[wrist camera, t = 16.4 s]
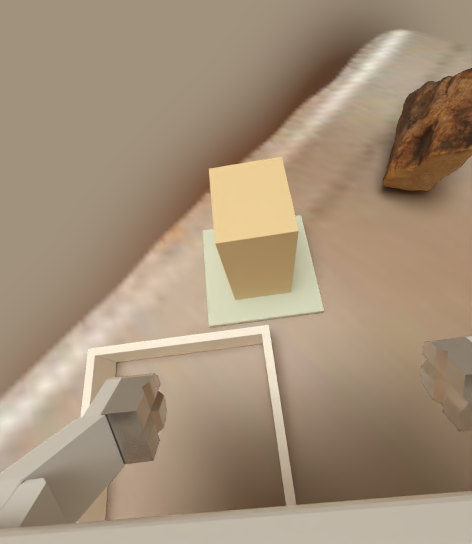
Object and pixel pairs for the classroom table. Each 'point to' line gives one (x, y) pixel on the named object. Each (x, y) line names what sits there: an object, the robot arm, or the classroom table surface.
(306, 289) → the sage mat
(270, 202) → the block
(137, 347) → the box
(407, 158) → the decorative rock
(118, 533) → the robot arm
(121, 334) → the classroom table surface
